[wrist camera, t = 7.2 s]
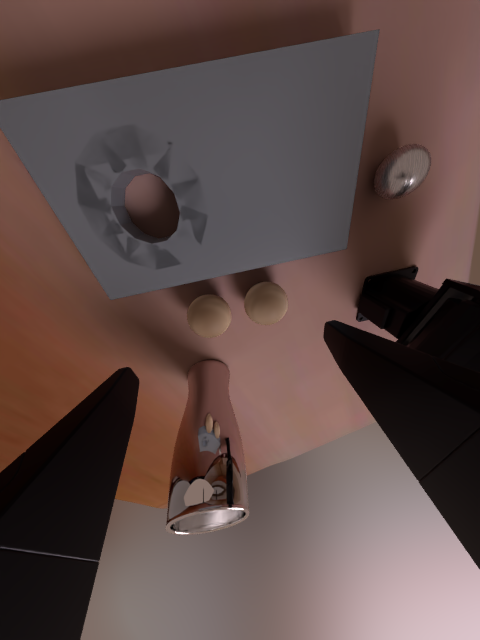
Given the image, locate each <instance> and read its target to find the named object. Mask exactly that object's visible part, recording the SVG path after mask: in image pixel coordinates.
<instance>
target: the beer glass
mask: <svg viewBox="0 0 480 640" xmlns="http://www.w3.org/2000/svg"><path fill="white" fill-rule="evenodd" d="M229 379H230V372H229V369H228V367H227V366H226V365H225V364H224V363H222V362H220V361H216V360H204V361H200V362H198V363H196V364H194V365H193V366H192V367H191V368H190V369H189V371H188V375H187V380H188V390H189V392H188V400H187V404H186V408H185V411H184V414H183V418H182V421H181V424H180V428H179V431H178V435H177V439H176V443H175V447H174V453H173V459H172V465H171V473H170V483H169V495H168V511H167V522H166V531H167V532H169V533H171V534H177V535H192V534H201V533H207V532H213V531H217V530H221V529H224V528H227V527H230V526H233V525H236V524H238V523H240V522H242V521H244V520H245V519H246V518H247V517H248V516H249V514H250V513H249V505H248V492H247V478H246V466H245V457H244V450H243V444H242V439H241V435H240V431H239V427H238V423H237V420H236V417H235V414H234V410H233V407H232V404H231V400H230V396H229Z"/></svg>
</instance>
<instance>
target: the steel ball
mask: <svg viewBox="0 0 480 640" xmlns="http://www.w3.org/2000/svg"><path fill="white" fill-rule="evenodd" d="M430 166H431V155H430V152H429V151H428V149H427V148H426V147H424V146H422V145H419V144H409V145H405V146H402V147H400V148H398V149H396V150H395V151H393V152H392V153H391V154H389V155H388V156H387V157H386V158H385V159H384V160H383V162H382V163H381V164H380V166H379V167H378V169H377V171H376V174H375V177H374V188H375V191H376V193H377V194H378V195H379V196H380V197H382V198H385V199H397V198H401V197H403V196H405V195H407V194H409V193H411V192H412V191H414V190H415V189H416V188H417V187H418V186H419V185H420V184H421V183H422V182H423V181H424V179H425V178H426V176H427V174H428V172H429V170H430Z"/></svg>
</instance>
